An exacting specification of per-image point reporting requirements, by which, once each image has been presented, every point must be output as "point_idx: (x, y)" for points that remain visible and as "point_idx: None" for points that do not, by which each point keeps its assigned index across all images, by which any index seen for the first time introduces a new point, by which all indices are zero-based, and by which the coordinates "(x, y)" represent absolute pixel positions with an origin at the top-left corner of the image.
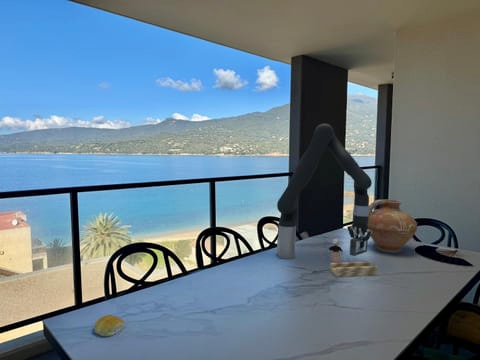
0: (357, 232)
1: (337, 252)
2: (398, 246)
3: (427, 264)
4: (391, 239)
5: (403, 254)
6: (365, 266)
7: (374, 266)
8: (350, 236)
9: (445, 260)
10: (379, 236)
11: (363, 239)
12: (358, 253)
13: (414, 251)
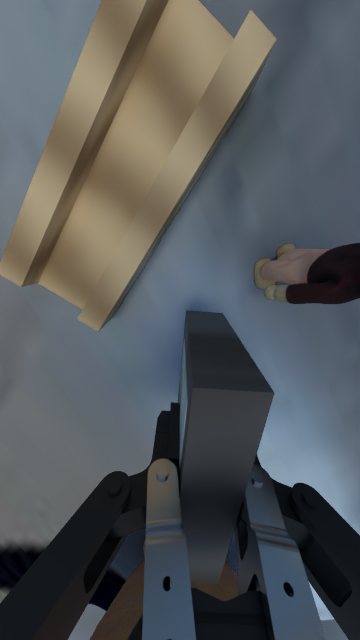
0: (250, 629)
1: (309, 265)
2: (131, 574)
3: (19, 507)
4: (131, 615)
5: None
6: (47, 214)
7: (17, 265)
8: (321, 496)
9: (16, 560)
10: None
11: (140, 494)
12: (181, 365)
13: (119, 572)
